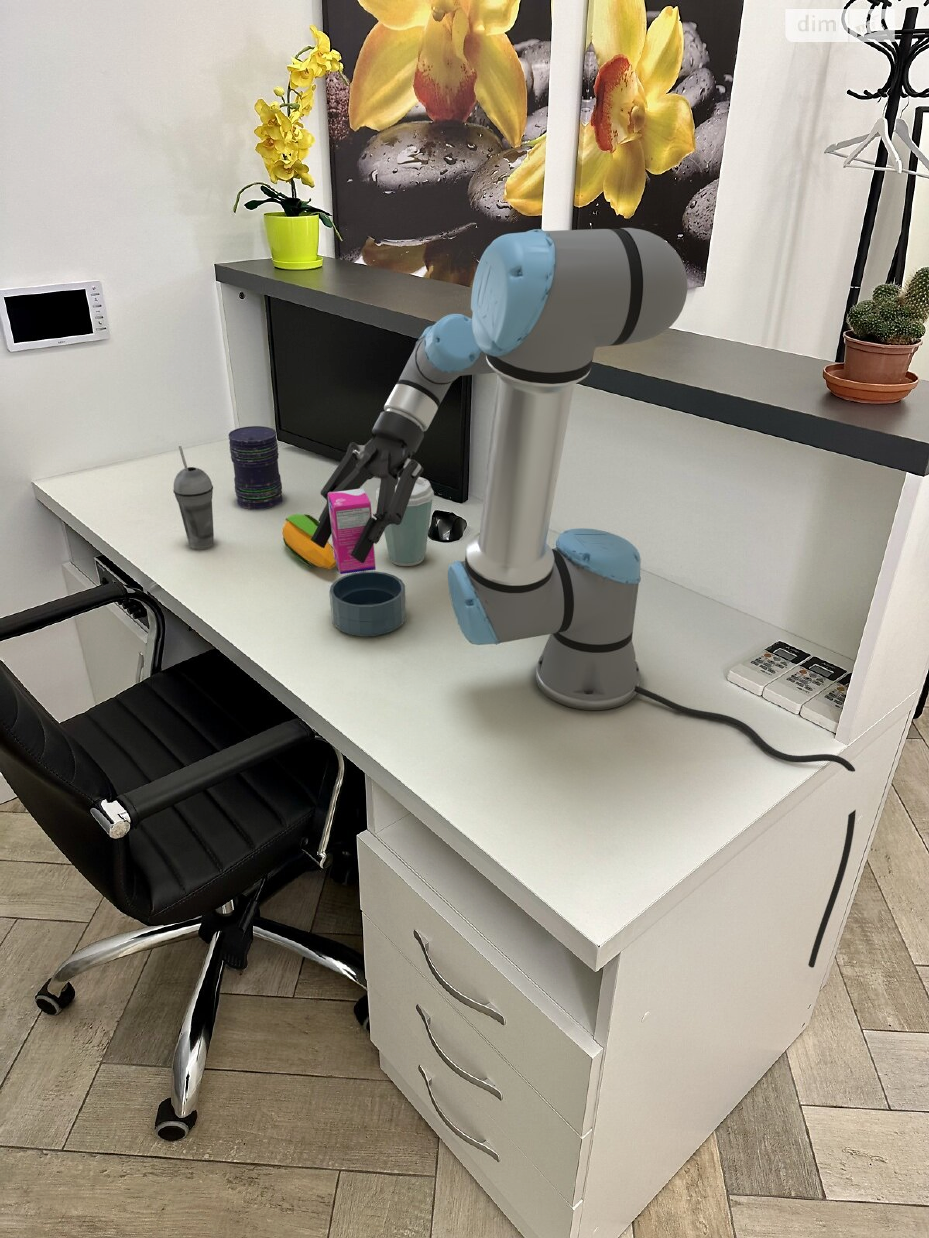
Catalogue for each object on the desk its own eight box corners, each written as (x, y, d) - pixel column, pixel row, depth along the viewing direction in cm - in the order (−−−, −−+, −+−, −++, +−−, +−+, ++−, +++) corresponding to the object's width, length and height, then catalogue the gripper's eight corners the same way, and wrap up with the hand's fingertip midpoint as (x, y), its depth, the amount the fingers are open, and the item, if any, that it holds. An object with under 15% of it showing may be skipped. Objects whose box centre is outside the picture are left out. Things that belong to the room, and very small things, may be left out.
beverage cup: (223, 549, 171) (209, 449, 161) (184, 555, 168) (167, 454, 158) (218, 534, 177) (204, 437, 166) (180, 540, 174) (163, 441, 164)
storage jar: (239, 492, 195) (231, 426, 188) (284, 491, 196) (278, 425, 189) (233, 510, 187) (224, 442, 179) (281, 509, 188) (274, 441, 180)
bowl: (420, 623, 147) (419, 591, 144) (357, 647, 141) (355, 614, 138) (379, 595, 155) (378, 564, 152) (318, 616, 149) (315, 584, 146)
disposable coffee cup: (392, 576, 162) (389, 499, 154) (369, 553, 170) (365, 479, 162) (444, 564, 166) (444, 489, 158) (419, 542, 174) (417, 469, 167)
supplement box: (332, 559, 141) (327, 491, 135) (369, 554, 142) (365, 487, 136) (338, 575, 136) (333, 506, 130) (376, 570, 137) (373, 501, 132)
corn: (306, 500, 172) (351, 537, 157) (312, 535, 176) (356, 575, 161) (270, 510, 169) (313, 549, 154) (277, 546, 173) (319, 587, 158)
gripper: (466, 448, 135) (400, 580, 133) (367, 421, 146) (303, 543, 143) (444, 422, 129) (374, 561, 126) (343, 396, 140) (275, 523, 137)
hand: (336, 551), depth 135 cm, fingers closed on supplement box, 8 cm apart
